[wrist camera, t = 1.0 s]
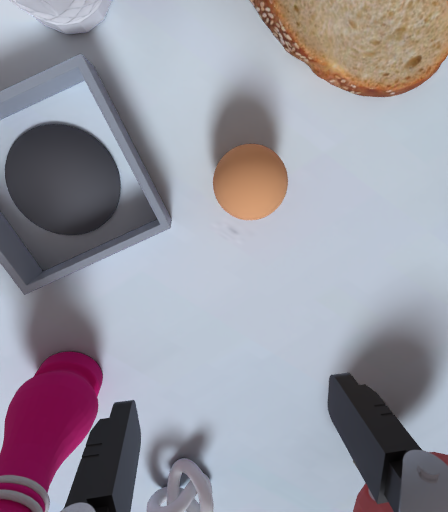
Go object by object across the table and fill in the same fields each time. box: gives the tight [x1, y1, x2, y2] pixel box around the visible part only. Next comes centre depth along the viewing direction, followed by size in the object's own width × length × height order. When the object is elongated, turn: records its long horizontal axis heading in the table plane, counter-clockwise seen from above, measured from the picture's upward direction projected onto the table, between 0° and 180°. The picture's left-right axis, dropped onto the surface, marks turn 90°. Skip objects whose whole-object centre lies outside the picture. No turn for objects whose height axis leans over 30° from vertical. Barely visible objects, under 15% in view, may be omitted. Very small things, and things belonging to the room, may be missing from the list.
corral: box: [0, 54, 172, 295], centre depth 24 cm, size 13×13×3 cm
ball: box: [213, 144, 288, 220], centre depth 25 cm, size 6×6×6 cm
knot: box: [147, 458, 213, 512], centre depth 36 cm, size 8×8×6 cm
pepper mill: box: [0, 352, 103, 512], centre depth 23 cm, size 7×7×20 cm
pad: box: [5, 124, 121, 235], centre depth 26 cm, size 9×9×1 cm
